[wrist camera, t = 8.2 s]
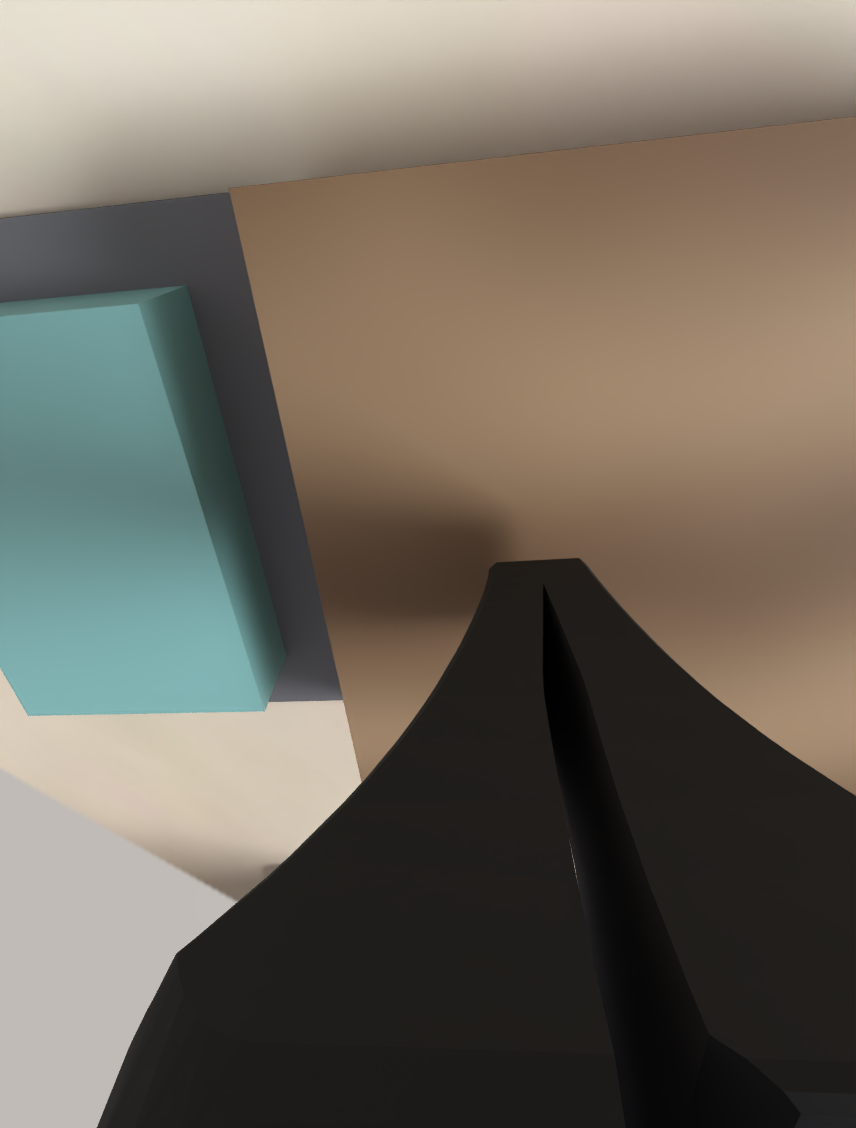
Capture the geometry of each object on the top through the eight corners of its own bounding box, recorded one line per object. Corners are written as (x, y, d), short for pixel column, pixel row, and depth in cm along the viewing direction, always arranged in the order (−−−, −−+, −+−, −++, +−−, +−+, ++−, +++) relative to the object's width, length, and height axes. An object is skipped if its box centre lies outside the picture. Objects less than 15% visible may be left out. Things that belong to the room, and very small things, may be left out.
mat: (354, 692, 17) (353, 699, 17) (52, 699, 18) (46, 707, 18) (250, 190, 11) (244, 190, 11) (-199, 241, 12) (-213, 242, 12)
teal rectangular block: (28, 715, 15) (72, 662, 17) (265, 711, 15) (286, 655, 17) (-194, 334, 11) (-102, 312, 12) (138, 303, 10) (187, 285, 12)
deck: (856, 679, 16) (957, 815, 13) (390, 691, 17) (369, 817, 14) (1053, 98, 10) (1357, 59, 6) (305, 184, 11) (228, 187, 8)
